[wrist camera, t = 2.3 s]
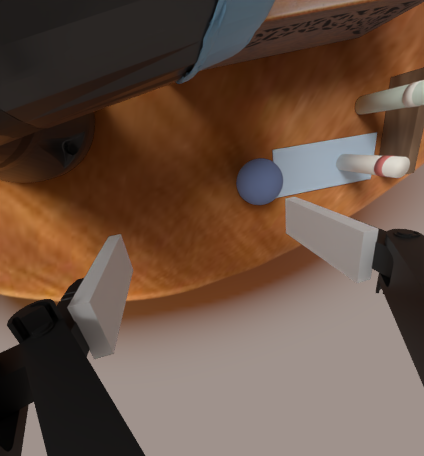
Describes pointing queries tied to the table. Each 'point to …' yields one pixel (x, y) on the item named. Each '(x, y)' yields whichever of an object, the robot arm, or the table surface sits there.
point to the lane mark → (320, 163)
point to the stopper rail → (404, 124)
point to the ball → (259, 181)
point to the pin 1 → (392, 99)
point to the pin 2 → (374, 164)
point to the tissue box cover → (316, 25)
